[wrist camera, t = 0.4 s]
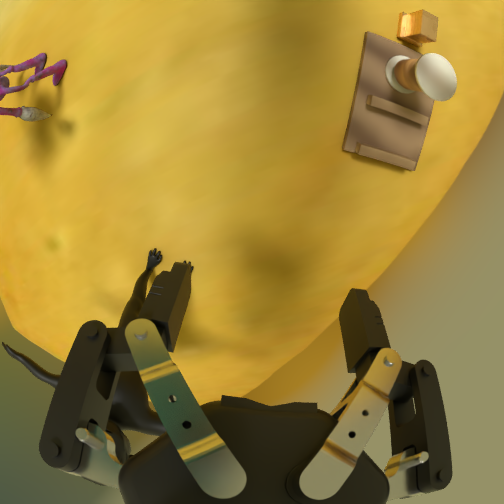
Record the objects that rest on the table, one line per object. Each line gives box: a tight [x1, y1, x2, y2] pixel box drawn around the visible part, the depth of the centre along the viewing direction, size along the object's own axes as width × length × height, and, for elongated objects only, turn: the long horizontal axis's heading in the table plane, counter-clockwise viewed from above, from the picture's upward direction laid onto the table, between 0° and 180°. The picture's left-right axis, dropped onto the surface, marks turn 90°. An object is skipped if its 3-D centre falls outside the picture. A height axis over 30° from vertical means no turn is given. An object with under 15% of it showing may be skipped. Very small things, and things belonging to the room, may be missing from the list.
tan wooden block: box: [397, 9, 438, 47], centre depth 20 cm, size 4×4×6 cm
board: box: [342, 32, 457, 171], centre depth 25 cm, size 18×12×10 cm, turn 173°
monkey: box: [2, 248, 193, 486], centre depth 36 cm, size 40×20×40 cm, turn 67°
